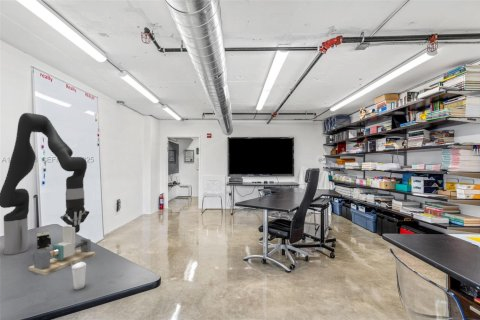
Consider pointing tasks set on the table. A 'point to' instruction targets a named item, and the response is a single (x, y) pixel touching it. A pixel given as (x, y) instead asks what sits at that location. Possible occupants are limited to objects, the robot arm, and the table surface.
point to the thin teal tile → (61, 251)
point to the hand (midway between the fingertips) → (75, 232)
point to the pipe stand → (51, 265)
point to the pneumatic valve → (43, 240)
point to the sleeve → (68, 240)
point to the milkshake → (79, 274)
